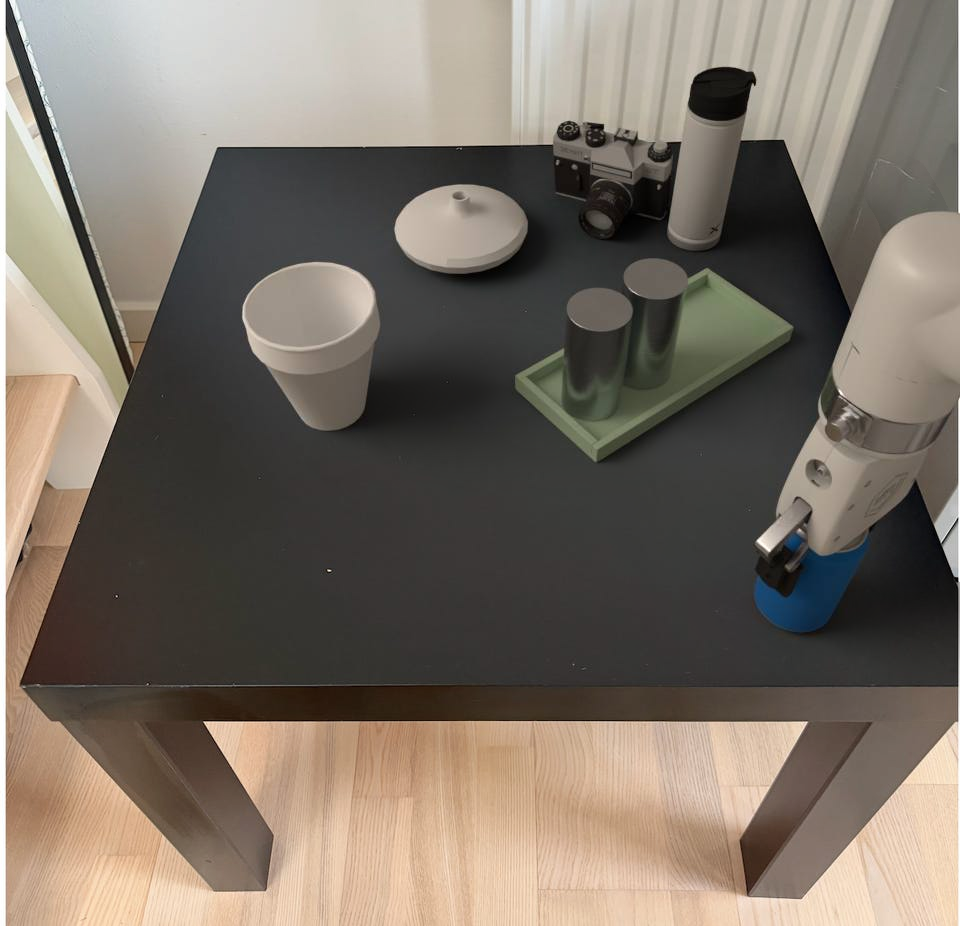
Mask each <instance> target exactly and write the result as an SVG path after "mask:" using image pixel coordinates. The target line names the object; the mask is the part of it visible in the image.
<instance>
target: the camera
mask: <svg viewBox="0 0 960 926" xmlns="http://www.w3.org/2000/svg"><path fill="white" fill-rule="evenodd" d="M552 147H553V148H552V150H553V151H552V152H553V167H554V187H555V188H554V189H555V194H556V195H560V196H563V197H566V198H571V199H575V200H578V201H583V204H582V205H581V207H580V210H579V211H578V215H577V217H578V219H577V221H578V224H579V227H580V228H581V230H583V232H584V233H586V234H587V235H588V236H590V237H592V238H594V239H598V240H606V239H609V238H611V237H613V236H614V235H616V233H617V231H618V230H619V228H620V227H621V225H622V223H623V220H624V219H625V218H626V216H627V215H638V216H641V217H646V218H650V219H654V220H657V221H662V220H663V219H664V218H665V216H666V215H667V212H669V210H670V208H671V206H670V205H671V194H672V185H673V175H674V174H673V173H674V171H673V170H672V169H673V159H674V154H673V148H672V146H671V145H670V144H669V143H667V141H664V140H662V139H659V140H657V141H655V142H651V141H648V140H643V139H639V130H638V129H637V130H632V129H631V130H630V129H625V128H622V127H621V126H620V125H618V126H617V128H616V130H615V132H614V133H611V132H607V131H605V123H600V122H599V123H597V122H591V121H590V122H589V121H582V124H581V125H579V124H578V123H577V122H576V121H571V120H565V121H563V122H561V123H560V124H559V125H558V127H557V129H556V131H555V134H554V135H553V137H552Z"/></svg>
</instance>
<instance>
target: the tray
mask: <svg viewBox="0 0 960 926" xmlns="http://www.w3.org/2000/svg"><path fill="white" fill-rule="evenodd" d="M687 278H688V285H687V290H686V295H685V300H684V306H683V311H682V316H681V321H680V327H679V332H678V337H677V342H676V348H675V353H674V358H673V363H672V368H671V374H670V377H669V379H668V380H667V381H666V382H665V383H664V384H663V385H661V386H659V387H657V388H654V389H649V390H639V389H634V388H630V387H628V386H626V385H624V384H623V387H622V395H621V402H620V406H619V409H618V410H617V411H616V413H615V414H614V415H612V416H611V417H609V418H607V419H604V420H601V421H584V420H580V419H577V418H575V417H573V416H572V415H570V414H569V413H568V412H567V411H566V410H565V409H564V407H563V405H562V402H561V391H562V375H563V358H564V347H563V348H562V349H559V350H558V351H556V352H555V353H553V354H551V355H549V356H547V357H546V358H544V359H542V360H540V361H538V362H537V363H535V364H533V365H531V366H530V367H528V368H526V369H524V370H521V372H519V373H517V374H516V375H514V384H515V385H514V389H515V390H516V391H517V392H518V393H519V394H520V395H521V396H522V397H523V398H524V399H526V400H527V401H528V403H530V404H531V405H532V406H533V407H534V408H535V409H536V410H538V411H539V412H540V413H541V414H542V415H543V416H544V417H545V418H546V419H547V420H548V421H549V422H550V423H552V424H553V425H554V426H555V427H556V428H557V429H558V430H559V431H560V432H562V434H564V435H565V436H566V437H567V438H568V439H569V440H570V441H571V442H573V444H575V445H576V446H577V447H578V448H579V449H580V450H581V451H583V452H584V453H585V454H586V455H587V456H588V457H589V458H590V459H591V460H592V461H593V462H594V463H595V464H597V463H598V462H600V461H601V460H603V459H605V458H606V457H608V456H609V455H611V454H613V453H614V452H615V451H618V450H619V449H621V448H623V447H624V446H625V445H626V444H629V443H630V442H631V441H633V440H635V439H636V438H638V437H640V436H641V435H642V434H645V432H648V431H650V429H652V428H654V427H655V426H657V425H658V424H661V422H663V421H665V420H667V419H668V418H670V417H671V416H673V415H674V414H676V413H678V412H679V411H680V410H682V409H684V408H685V407H687V406H689V405H690V404H692V403H693V402H695V401H696V400H698V399H699V398H701V397H703V396H705V395H706V394H707V393H709V392H711V391H713V390H714V389H715V388H717V387H719V386H720V385H723V383H725V382H727V381H728V380H730V379H731V378H733V377H734V376H736V375H738V374H739V373H741V372H742V371H744V370H746V369H747V368H749V367H751V366H752V365H754V364H755V363H757V362H758V361H760V360H762V359H763V358H764V357H766V356H768V355H770V354H771V353H772V352H774V351H776V350H777V349H779V348H781V347H782V346H783V345H785V344H787V343H788V342H790V341H791V337H792V334H793V331H794V328H795V327H794V325H792V324H790V323H789V322H788V321H786V320H784V319H783V318H782V317H780V316H779V315H777V313H774V312H773V311H771V310H770V309H768V308H767V307H766V306H764V305H763V304H761V303H759V301H757V300H755V299H754V298H752V297H751V296H749V295H748V294H746V293H745V292H743V291H742V290H741V289H739V288H737V287H736V286H734V285H733V284H732V283H730V282H729V281H727V280H726V279H724V278H723V277H722V276H720V275H719V274H717V273H715V272H714V271H712V270H711V269H710V268H708V267H707V268H704V269H703V270H701V271H699V272H697V273H695V274H694V275H692V276H690V277H687Z"/></svg>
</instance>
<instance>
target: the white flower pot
mask: <svg viewBox="0 0 960 926" xmlns="http://www.w3.org/2000/svg"><path fill="white" fill-rule="evenodd" d="M376 296H377V294H376V291H375V288H374V287H373V285H372V283H371V281H370V280H369V279H367V278H366V276H364V275H363V274H362V273H361V272H359V271H358V270H356V269H353V268H351V267H349V266H347V265H343V264H340V263H334V262H327V261H325V262H323V261H312V262H303V263H297V264H293V265H289V266H286V267H282V268H281V269H279V270H277V271H275V272H272V273H270V274H269V275H267V276H265V277H264V278H263V279H261V280H260V281H259V282H258V283H256V284H255V285H254V287H252V289H251V290H250V291H249V293H248V294H247V295H246V298H245V300H244V302H243V304H242V316H241V317H242V319H241V320H242V322H243V324H244V327H245V330H246V335H247V340H248V343H249V346H250V349H251V351H252V353H253V354H254V355H255V356H256V357H257V359H258V360H259V361H260V362H261V363H263V364H264V365H265V366H266V368H267V370H268V371H269V372H270V374H271V376H272V377H273V379H274V380H275V381H276V383H277V385H278V386H279V387H280V389H281V391H282V392H283V394H284V395H285V397H286V398H287V400H288V401H289V402H290V404H291V406H292V407H293V409H294V410H295V412H296V413H297V415H298V416H299V418H300V419H301V420H302V421H303V422H304V424H306V426H308V427H309V428H312V429H314V430H318V431H325V432H326V431H327V432H331V431H332V432H333V431H338V430H342V429H344V428H347V427H349V426H351V425H352V424H355V423H356V422H357V421H358V419H360V417H362V414H363V413H364V410H365V407H366V402H367V394H368V389H369V382H370V374H371V368H372V360H373V356H374V355H373V354H374V349H375V348H374V347H375V341H376V340H377V339H378V336H379V332H380V328H381V319H380V313H379V308H378V305H377V297H376Z"/></svg>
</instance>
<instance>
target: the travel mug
mask: <svg viewBox="0 0 960 926" xmlns="http://www.w3.org/2000/svg"><path fill="white" fill-rule="evenodd" d="M752 86H753V87H756V86H757V77H756V74H755V73H754V71H751V70H750V71H747V70H744V69H743V68H740V67H735V66H716V67H711V68H707V69H705V70H702V71H701V72H699V73H697V74H696V75H695V76H694V77H693V79H692V83H691V84H690V89H689V96H688V100H687V104H686V111H685V117H684V123H683V130H682V136H681V142H680V149H679V155H678V161H677V166H676V174H675V180H674V186H673V193H672V199H671V203H670V205H671V206H670V212H669V218H668V224H667V231H666V235H667V238H668V240H669V241H670V243H672V244H673V245H674V246H676V247H677V248H679V249H682V250H684V251H690V252H702V251H707V250H709V249H711V248H714V247H715V246H716V245H717V244H718V243H719V241H720V239H721V234H722V228H723V225H724V220H725V215H726V211H727V206H728V201H729V197H730V192H731V187H732V182H733V179H734V173H735V168H736V163H737V159H738V155H739V150H740V144H741V140H742V136H743V131H744V127H745V123H746V116H747V112H748V104H749V101H750V97H751V96H750V95H751V90H752Z"/></svg>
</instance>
